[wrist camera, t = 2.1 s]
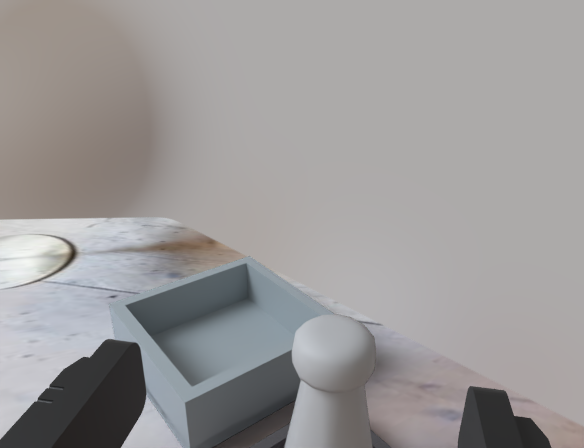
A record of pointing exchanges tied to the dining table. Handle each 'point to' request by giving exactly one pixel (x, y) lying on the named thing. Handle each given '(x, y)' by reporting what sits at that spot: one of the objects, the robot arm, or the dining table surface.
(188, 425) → the bin
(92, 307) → the dining table surface
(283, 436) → the dark grey square tray
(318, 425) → the salt shaker
